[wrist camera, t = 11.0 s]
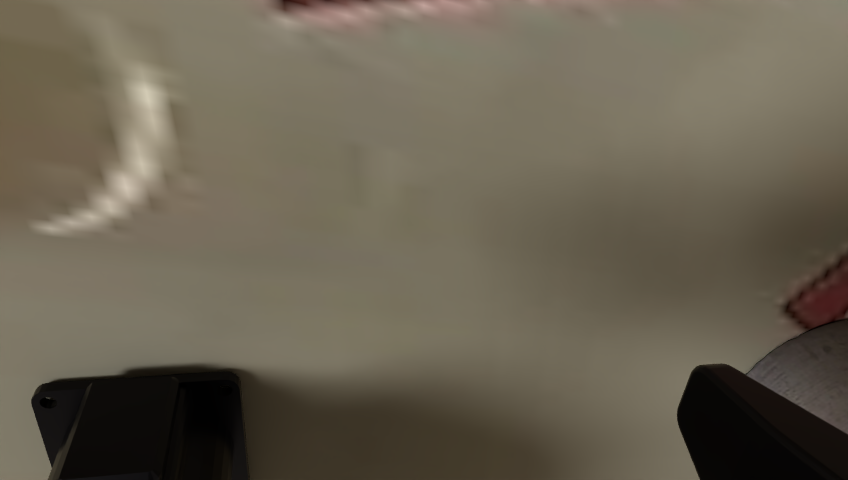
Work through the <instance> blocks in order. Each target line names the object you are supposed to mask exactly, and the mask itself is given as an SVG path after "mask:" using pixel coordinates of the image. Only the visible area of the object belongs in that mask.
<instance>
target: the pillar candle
mask: <svg viewBox="0 0 848 480" xmlns="http://www.w3.org/2000/svg"><path fill="white" fill-rule="evenodd" d="M746 375H747V376H749V377H750V378H752V379H754V380H756V381H757V382H759V383H761V384H762V385H764V386H766V387H768V388H769V389H771V390H773V391H774V392H776V393H778V394H780V395H781V396H783V397H785V398H787V399H788V400H790V401H792V402H793V403H795V404H797V405H799V406H800V407H802V408H804V409H805V410H807V411H809V412H811V413H812V414H814V415H816V416H817V417H819V418H821V419H823V420H824V421H826V422H828V423H829V424H831V425H833V426H835V427H836V428H838V429H840V430H842V431H843V432H845V433H847V434H848V320H843V321H837V322H834V323H830V324H827V325H824V326H821V327H818V328H816V329H813V330H811V331H809V332H806V333H803V335H800V336H799V337H798V338H795V339H792V340H789V341H788V342H786V343H784V344H783V345H781V346H780V347H778V348H776V349H775V350H773V351H772V352H771V353H769V354H768V355H767V356H766V357H765V358H763V359H762V361H760V362H758V363H757V364H756V365H755V367H754V368H753V369H752V370H751V371H750V372H749V373H747V374H746Z"/></svg>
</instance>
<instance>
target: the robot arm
mask: <svg viewBox="0 0 848 480" xmlns="http://www.w3.org/2000/svg"><path fill="white" fill-rule="evenodd" d="M222 385H228V386H230V387H228V388H222V387H220V386H222ZM45 397H51V398H53V399H55V400H50V399H47V398H45ZM31 404H32V407H33V410H34V413H35V417H36V420H37V423H38V426H39V429H40V432H41V435H42V438H43V442H44V445H45V448H46V451H47V454H48V457H49V460H50V463H51V467H52V470H51V472H50V475H49V478H48V480H250V479H249V468H248V457H247V447H246V436H245V425H244V414H243V403H242V393H241V382H240V379H239V377H238V376H237V375H236V374H234V373H231V372H209V373H194V374H178V375H163V376H147V377H131V378H116V379H100V380H85V381H69V382H54V383H45V384H42V385H40V386H39V387H38V388H37V389H36V391H35V393H34V395H33V397H32V399H31ZM677 420H678V425H679V428H680V431H681V433H682V436H683V438H684V441H685V443H686V446H687V448H688V451H689V453H690V456H691V458H692V461H693V463H694V466H695V468H696V471H697V473H698V476H699V478H700V480H848V434H847V433H845V432H843V431H842V430H840V429H838V428H836V427H835V426H833V425H831V424H829V423H828V422H826V421H824V420H823V419H821V418H819V417H817V416H816V415H814V414H812V413H811V412H809V411H807V410H805V409H804V408H802V407H800V406H799V405H797V404H795V403H793V402H792V401H790V400H788V399H787V398H785V397H783V396H781V395H780V394H778V393H776V392H774V391H773V390H771V389H769V388H768V387H766V386H764V385H762V384H761V383H759V382H757V381H756V380H754V379H752V378H750V377H749V376H747V375H745V374H744V373H742V372H740V371H738V370H737V369H735V368H733V367H731V366H729V365H727V364H708V365H699V366H697V367H696V368H695V369H694V370H692V372H691V374H690V377H689V380H688V382H687V385H686V388H685V390H684V393H683V395H682V398H681V401H680V403H679V406H678V410H677Z"/></svg>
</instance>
